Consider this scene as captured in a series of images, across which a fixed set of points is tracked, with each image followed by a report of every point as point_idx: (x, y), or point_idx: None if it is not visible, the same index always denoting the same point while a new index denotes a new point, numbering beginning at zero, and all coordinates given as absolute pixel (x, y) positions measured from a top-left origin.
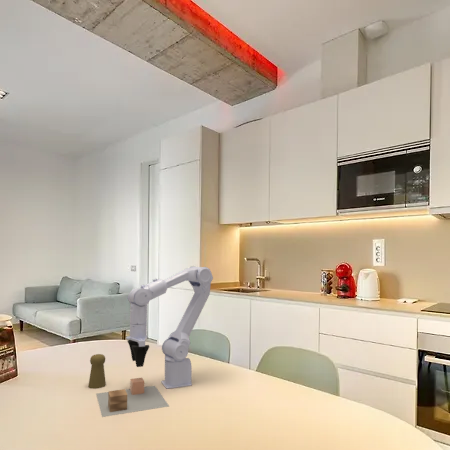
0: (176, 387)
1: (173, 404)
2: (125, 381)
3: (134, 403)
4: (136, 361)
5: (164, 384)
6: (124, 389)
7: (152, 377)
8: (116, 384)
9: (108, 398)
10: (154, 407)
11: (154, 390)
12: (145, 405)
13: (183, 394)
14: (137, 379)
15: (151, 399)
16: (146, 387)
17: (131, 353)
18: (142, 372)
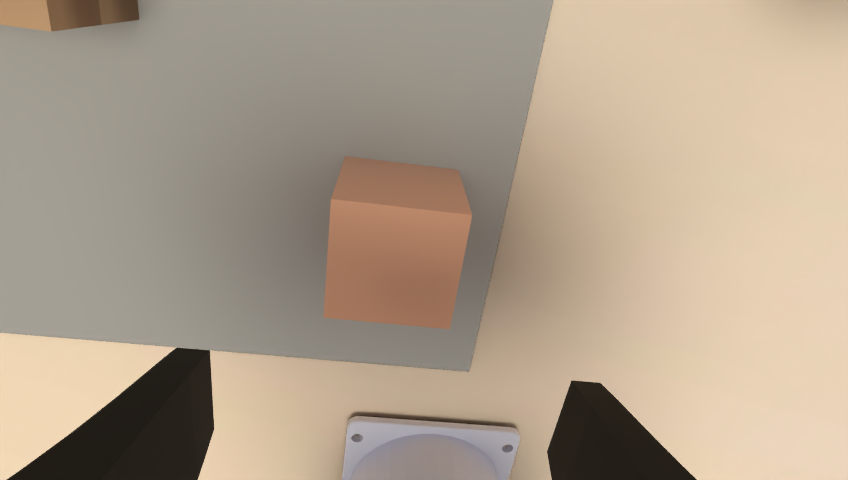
0: (343, 470)
1: (25, 362)
2: (747, 206)
3: (112, 110)
4: (99, 414)
5: (427, 429)
6: (42, 24)
7: (670, 408)
8: (735, 107)
9: None
10: None
11: (360, 339)
12: (32, 181)
13: (203, 464)
14: (412, 274)
15: (163, 263)
16: (463, 310)
17: (644, 475)
18: (842, 383)
